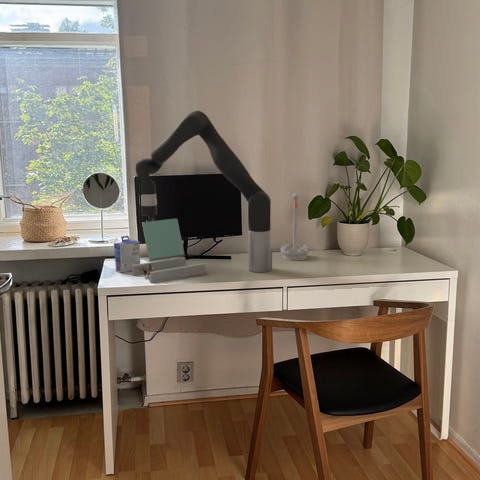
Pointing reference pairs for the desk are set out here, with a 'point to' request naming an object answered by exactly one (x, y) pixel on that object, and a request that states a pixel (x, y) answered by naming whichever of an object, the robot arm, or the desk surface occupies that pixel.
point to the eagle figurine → (147, 270)
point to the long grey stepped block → (169, 269)
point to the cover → (163, 239)
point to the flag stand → (294, 240)
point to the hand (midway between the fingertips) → (149, 242)
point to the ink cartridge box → (126, 254)
